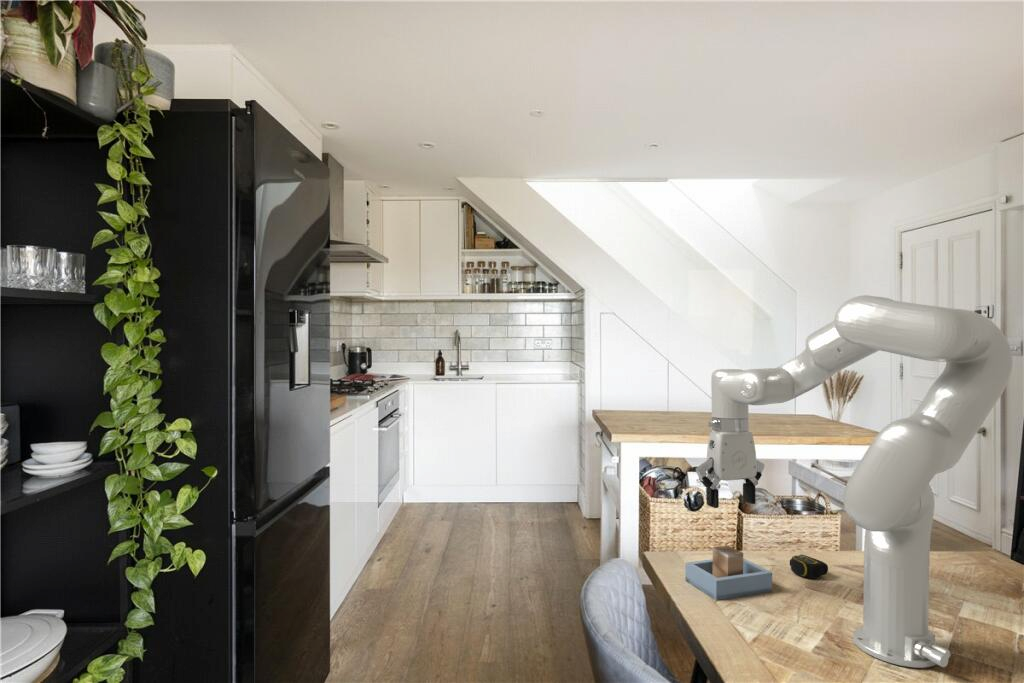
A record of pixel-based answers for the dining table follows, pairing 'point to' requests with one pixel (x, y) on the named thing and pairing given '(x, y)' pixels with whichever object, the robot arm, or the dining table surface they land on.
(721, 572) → the wooden rectangular block
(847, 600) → the dining table surface
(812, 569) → the tape measure
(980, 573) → the dining table surface
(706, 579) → the container
